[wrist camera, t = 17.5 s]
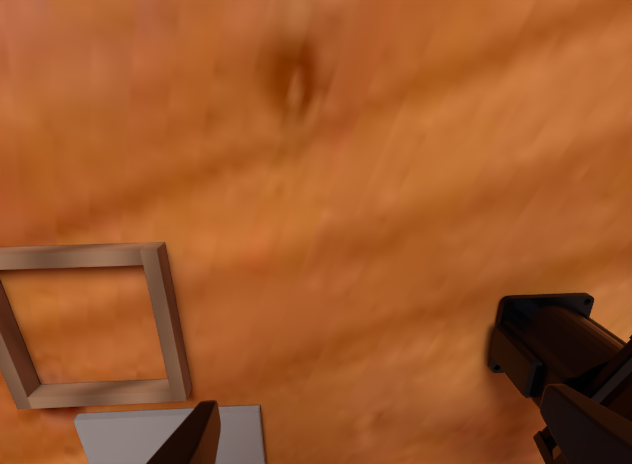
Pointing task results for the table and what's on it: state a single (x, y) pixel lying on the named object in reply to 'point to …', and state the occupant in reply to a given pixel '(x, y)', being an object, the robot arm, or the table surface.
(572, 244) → the table surface
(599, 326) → the robot arm
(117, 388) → the walnut square frame
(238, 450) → the grey rubber mat
